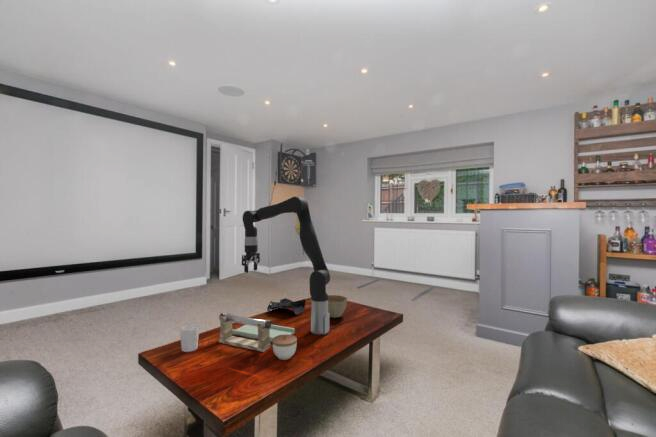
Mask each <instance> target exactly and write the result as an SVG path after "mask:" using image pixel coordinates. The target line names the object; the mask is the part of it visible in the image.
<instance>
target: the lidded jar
mask: <svg viewBox="0 0 656 437" xmlns="http://www.w3.org/2000/svg"><path fill="white" fill-rule="evenodd" d="M297 342H298V338H297V336H295V335H294V334H292V335H288V334H284V335H278V336H276V337H274V338H273V340H272V342H271V344H272V351H273V354H274V355H275V356H276V357H277V358H278V360H281V361H286V360H290V359H291V358H292V357H293V355H294V354H295V353H296V351H297V347H298V346H297V344H298V343H297Z"/></svg>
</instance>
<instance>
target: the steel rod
mask: <svg viewBox="0 0 656 437" xmlns="http://www.w3.org/2000/svg"><path fill="white" fill-rule="evenodd" d="M221 316H223V317H226V321H230V322H232V323H236V324H243V325H246V324H247V325H253V326H257V323H264V328H267V329H269V328H270V327H271V324H272V321H271V320H270V321H264V320H265V319H258V318H252V317H244V316H238V315H234V314H233V315H228V313H224V312H222V313H220V314H219V316H218V319H219V320H220V317H221Z"/></svg>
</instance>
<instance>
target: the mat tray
mask: <svg viewBox="0 0 656 437" xmlns="http://www.w3.org/2000/svg"><path fill="white" fill-rule="evenodd" d="M295 333H296V328H295V327H294V328H293V327H288V326H283V325H282V326H281V325H276V324H272V323H271V327H270V343H272V340H273V338H274V337H276V336H278V335H284V334H288V335H294V334H295ZM232 335H234V336H238V337H242V338H247V339H252V340H258V329H257V326H253V325H247V324H243V325H242V326H240V327H239V328H236V329H234V328H232Z"/></svg>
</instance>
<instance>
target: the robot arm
mask: <svg viewBox="0 0 656 437" xmlns="http://www.w3.org/2000/svg"><path fill="white" fill-rule="evenodd" d="M292 213H293V214H296V215H297V218H298V222H299V239H300V243H301V246H302V249H303V252H304V253H305V255H306V256H307V257H308V258H309V261H311V264H312V268H313V272H312V273H311V274H310V276H309V295H310V332H311V333H312V334H314V335H326V334H328V333H329V332H330V317H329V316H330V314H329V313H328V295H329V294H328V293H327V291H326V289H327V287H326V285H328V284H329V283H330V281H331V274H330V271H329V269H328V267H327V266H328V265H326V262H325V258H324V256H323V254H322V250H321V246H320V243H319V240H318V236H317V233H316V230H315V228H314V224H313V221H312V217H311V213H310V208H309V203H308V201H307V200H306V198H304V197H303V196H295V195H294V196H292V197H290V198H288V199H286V200H283V201H281V202H279V203H275V204H271V205H267V206H263V207H260V208H258V209H257V210H245V211H244V212H243V214H242V223H243V224H242V225H243V227H244V253H245V254H242V255H241V266H243V269H244V270H243V271H244V273H245V274H248V273H249V265H250V264H251V262H252V263H253V271H258V264H259V263H260V262H261V257H260V256H261V255H260V252H258V247H259V246H258V245H259V244H258V228H257V227H256V226H254V223H257V222H260V221H261V222H262V221H263V220H268V219H273V218H275V217H277V216H279V215H281V214H292Z"/></svg>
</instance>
